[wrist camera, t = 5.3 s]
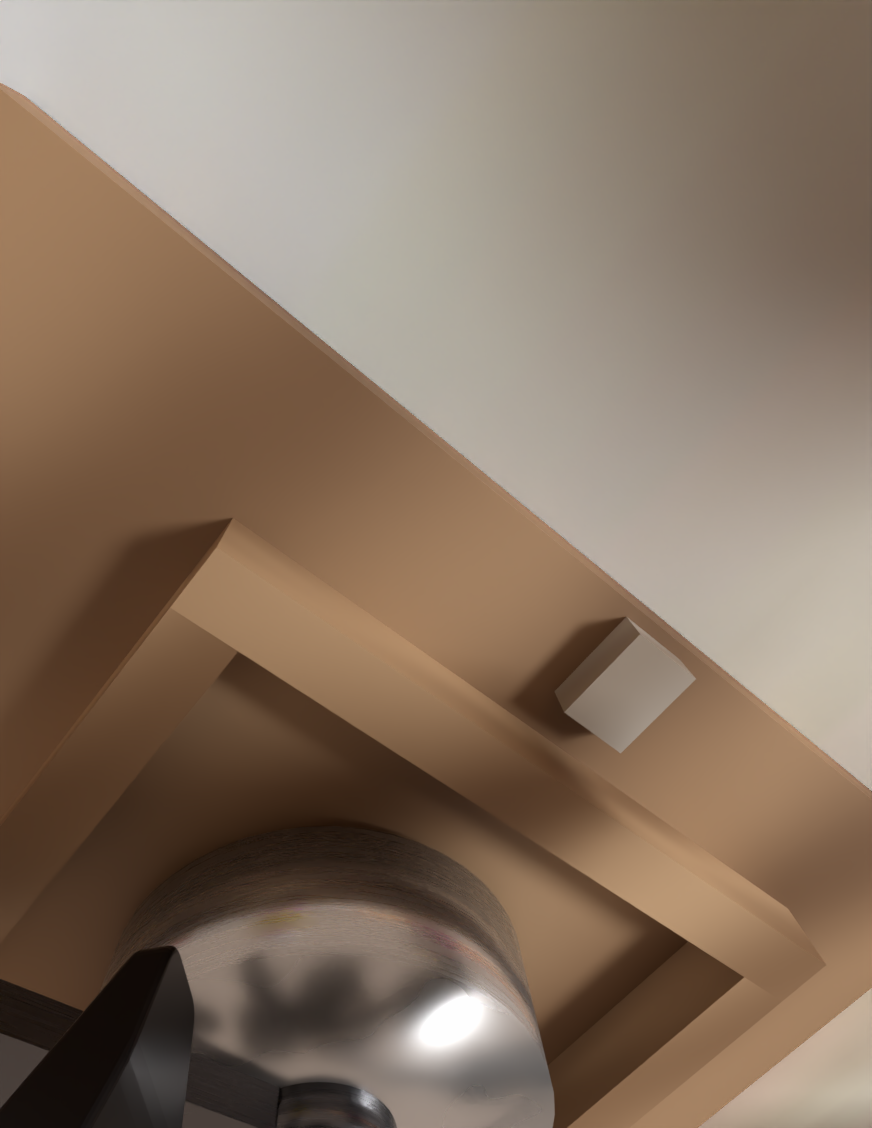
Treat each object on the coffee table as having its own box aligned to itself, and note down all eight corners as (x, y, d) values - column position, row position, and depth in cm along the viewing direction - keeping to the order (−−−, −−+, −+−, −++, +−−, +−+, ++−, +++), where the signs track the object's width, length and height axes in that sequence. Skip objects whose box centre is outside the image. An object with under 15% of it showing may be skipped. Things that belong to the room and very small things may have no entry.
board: (941, 848, 15) (1042, 947, 13) (460, 1250, 18) (474, 1384, 16) (24, 96, 9) (-85, 37, 7) (-444, 881, 12) (-621, 1013, 10)
